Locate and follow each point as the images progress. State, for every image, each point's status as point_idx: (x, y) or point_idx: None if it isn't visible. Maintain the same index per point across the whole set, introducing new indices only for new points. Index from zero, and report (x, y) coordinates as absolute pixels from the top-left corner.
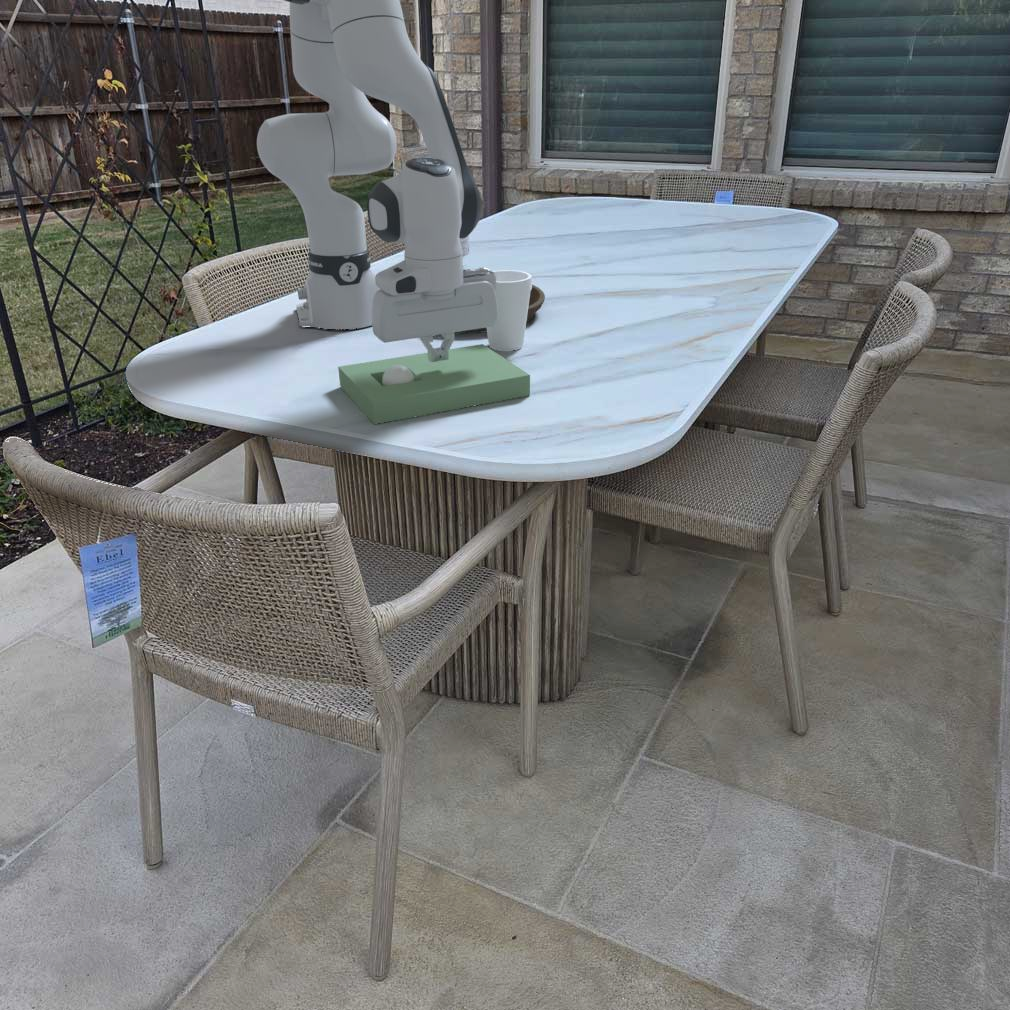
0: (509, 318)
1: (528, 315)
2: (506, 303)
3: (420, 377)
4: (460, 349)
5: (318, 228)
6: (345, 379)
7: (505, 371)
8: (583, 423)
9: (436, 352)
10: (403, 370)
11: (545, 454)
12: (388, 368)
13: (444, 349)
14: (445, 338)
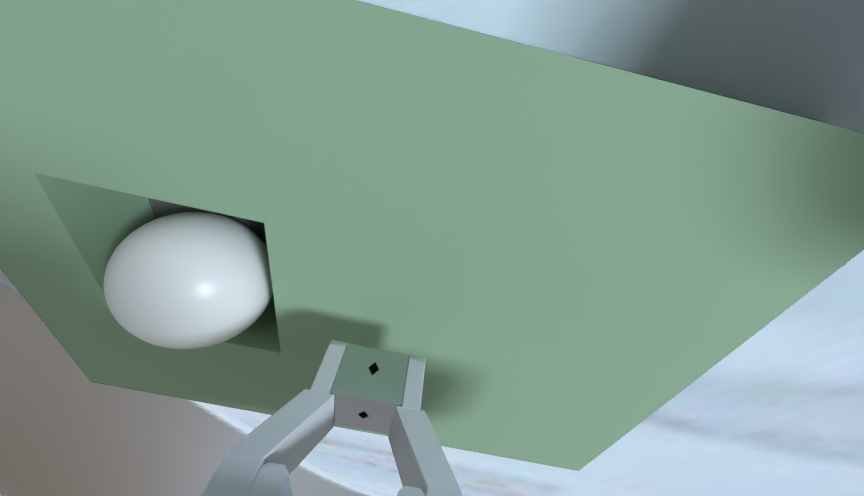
0: None
1: None
2: None
3: (281, 336)
4: (743, 157)
5: None
6: None
7: (557, 436)
8: (513, 485)
9: (341, 422)
10: (185, 348)
11: (392, 491)
12: (108, 300)
13: (389, 436)
14: (418, 479)
